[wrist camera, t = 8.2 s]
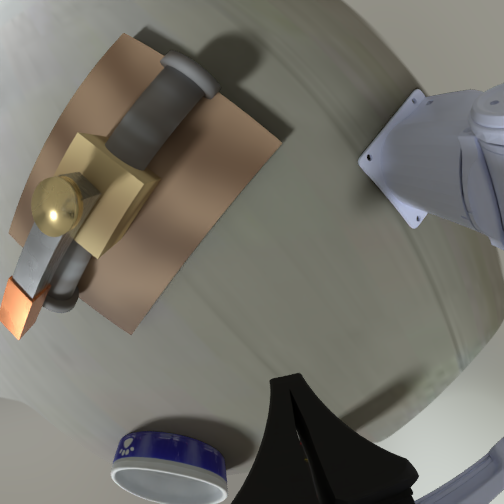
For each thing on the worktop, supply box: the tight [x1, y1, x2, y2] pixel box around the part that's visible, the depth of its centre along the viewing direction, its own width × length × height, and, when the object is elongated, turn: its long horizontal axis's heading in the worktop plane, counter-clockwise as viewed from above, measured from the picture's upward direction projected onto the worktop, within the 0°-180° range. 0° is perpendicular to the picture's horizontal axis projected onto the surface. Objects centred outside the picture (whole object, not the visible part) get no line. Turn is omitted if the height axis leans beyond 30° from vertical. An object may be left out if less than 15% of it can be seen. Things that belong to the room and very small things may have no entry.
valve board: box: [9, 33, 282, 335], centre depth 15 cm, size 18×14×6 cm
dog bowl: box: [111, 431, 228, 504], centre depth 26 cm, size 15×15×6 cm
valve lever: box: [0, 172, 102, 340], centre depth 11 cm, size 11×3×3 cm, turn 136°
